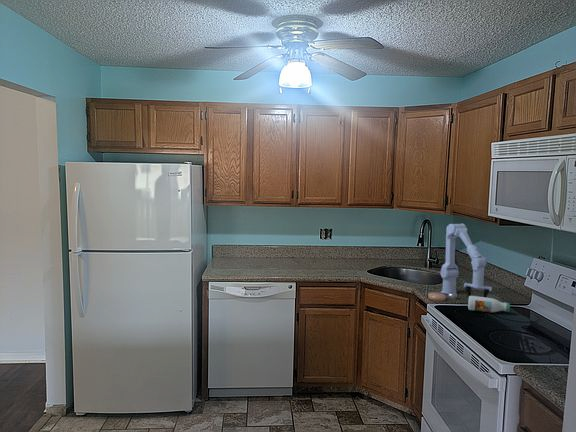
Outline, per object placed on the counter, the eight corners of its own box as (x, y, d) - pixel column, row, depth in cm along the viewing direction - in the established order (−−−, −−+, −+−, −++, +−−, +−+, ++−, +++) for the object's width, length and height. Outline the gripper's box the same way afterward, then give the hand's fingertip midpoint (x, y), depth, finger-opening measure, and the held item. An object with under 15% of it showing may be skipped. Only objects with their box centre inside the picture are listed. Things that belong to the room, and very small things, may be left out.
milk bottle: (469, 294, 230) (510, 298, 224) (468, 297, 237) (507, 301, 231) (469, 308, 227) (510, 312, 221) (467, 311, 234) (507, 316, 228)
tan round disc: (430, 295, 258) (431, 291, 258) (447, 298, 253) (448, 294, 252) (425, 299, 250) (426, 295, 250) (443, 302, 244) (443, 298, 244)
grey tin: (449, 296, 256) (449, 291, 256) (457, 298, 254) (457, 293, 253) (446, 298, 252) (447, 293, 252) (455, 300, 250) (455, 295, 249)
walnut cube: (472, 301, 247) (473, 293, 246) (482, 303, 244) (482, 294, 243) (471, 303, 243) (471, 295, 242) (480, 305, 240) (481, 296, 239)
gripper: (463, 277, 243) (461, 300, 244) (490, 281, 234) (489, 305, 236) (466, 274, 248) (464, 297, 250) (493, 278, 240) (491, 302, 242)
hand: (476, 301), depth 243 cm, fingers open, 7 cm apart
